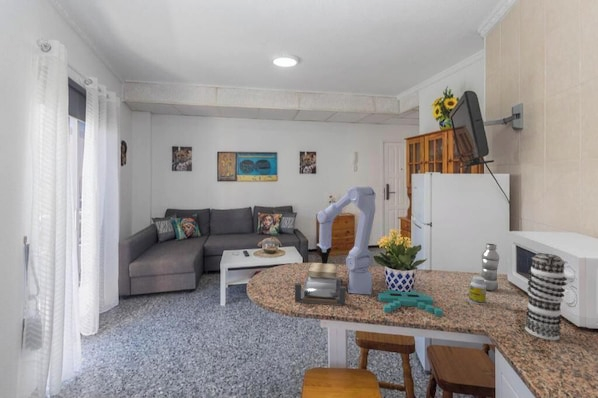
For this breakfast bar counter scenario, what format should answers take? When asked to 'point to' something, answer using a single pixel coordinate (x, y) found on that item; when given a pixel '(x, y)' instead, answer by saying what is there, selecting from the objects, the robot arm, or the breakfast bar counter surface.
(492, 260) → the plastic bottle
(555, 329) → the decorative candle
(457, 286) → the breakfast bar counter surface
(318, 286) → the roller bed
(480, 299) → the supplement bottle
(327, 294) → the loose roller
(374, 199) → the robot arm
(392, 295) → the alien figure
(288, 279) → the breakfast bar counter surface
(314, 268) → the slab
